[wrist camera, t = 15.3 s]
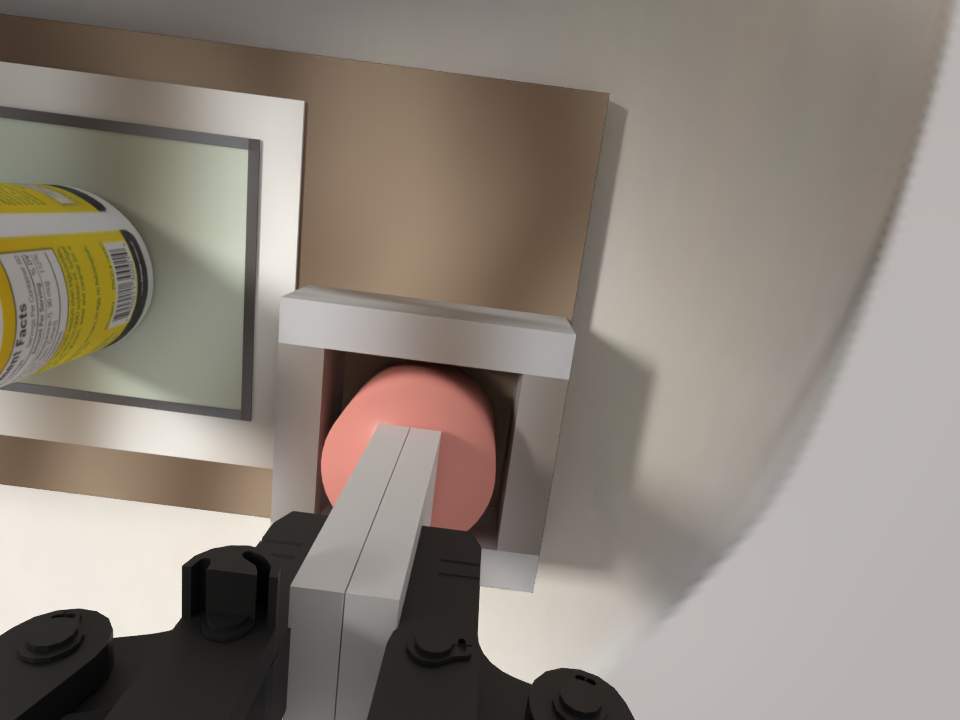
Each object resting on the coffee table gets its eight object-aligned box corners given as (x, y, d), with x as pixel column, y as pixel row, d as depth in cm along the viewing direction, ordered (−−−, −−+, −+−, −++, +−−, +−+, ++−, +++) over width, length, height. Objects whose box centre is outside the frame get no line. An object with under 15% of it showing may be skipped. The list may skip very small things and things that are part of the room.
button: (344, 486, 19) (316, 538, 16) (354, 349, 18) (326, 377, 15) (485, 504, 19) (483, 559, 16) (505, 368, 18) (506, 400, 15)
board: (-57, 465, 20) (-157, 512, 17) (-106, 5, 17) (-242, -41, 14) (532, 539, 20) (538, 599, 17) (605, 97, 17) (629, 73, 14)
